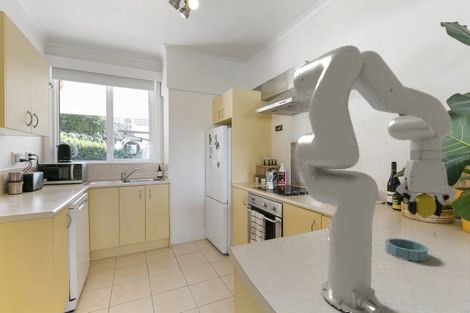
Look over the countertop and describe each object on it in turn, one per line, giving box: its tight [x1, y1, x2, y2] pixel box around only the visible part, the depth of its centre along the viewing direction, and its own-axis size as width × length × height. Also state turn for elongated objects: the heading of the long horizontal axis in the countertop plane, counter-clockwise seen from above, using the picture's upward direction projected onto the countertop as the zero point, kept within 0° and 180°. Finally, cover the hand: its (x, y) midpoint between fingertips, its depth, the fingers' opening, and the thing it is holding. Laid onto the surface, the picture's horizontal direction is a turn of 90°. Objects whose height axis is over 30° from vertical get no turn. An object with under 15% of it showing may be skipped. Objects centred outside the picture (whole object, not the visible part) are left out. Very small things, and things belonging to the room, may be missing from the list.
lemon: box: [415, 193, 436, 219], centre depth 70 cm, size 6×6×8 cm
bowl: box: [384, 237, 429, 262], centre depth 81 cm, size 12×12×4 cm
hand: (424, 214), depth 70 cm, fingers closed on lemon, 5 cm apart
